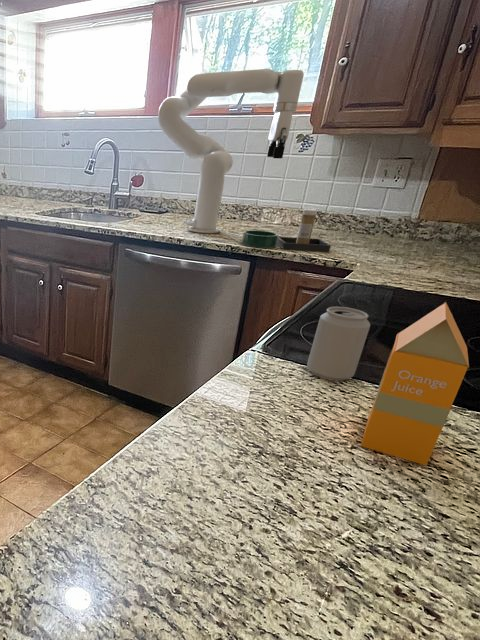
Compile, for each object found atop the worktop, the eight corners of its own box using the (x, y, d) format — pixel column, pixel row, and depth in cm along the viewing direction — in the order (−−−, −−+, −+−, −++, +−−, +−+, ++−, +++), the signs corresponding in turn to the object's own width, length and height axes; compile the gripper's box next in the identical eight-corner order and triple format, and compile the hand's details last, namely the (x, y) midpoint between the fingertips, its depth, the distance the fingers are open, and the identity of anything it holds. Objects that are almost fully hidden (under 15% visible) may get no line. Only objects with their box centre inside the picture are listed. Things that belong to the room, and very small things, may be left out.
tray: (283, 249, 192) (284, 242, 191) (275, 243, 203) (276, 236, 202) (328, 252, 189) (330, 245, 188) (318, 245, 199) (320, 238, 198)
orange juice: (359, 445, 74) (406, 311, 65) (366, 420, 80) (410, 295, 72) (428, 466, 69) (488, 325, 61) (429, 438, 76) (484, 306, 67)
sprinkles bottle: (310, 246, 195) (319, 209, 190) (305, 248, 192) (315, 210, 187) (297, 244, 198) (306, 207, 193) (292, 246, 195) (301, 209, 190)
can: (336, 365, 99) (354, 304, 94) (362, 382, 92) (384, 318, 87) (297, 365, 99) (313, 304, 94) (320, 383, 92) (340, 318, 87)
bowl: (244, 247, 195) (247, 235, 193) (239, 241, 205) (241, 229, 203) (278, 249, 192) (281, 236, 190) (271, 243, 203) (273, 231, 201)
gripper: (268, 108, 202) (259, 156, 209) (279, 107, 187) (268, 158, 194) (289, 108, 201) (279, 156, 208) (302, 107, 185) (290, 159, 192)
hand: (274, 157), depth 201 cm, fingers open, 9 cm apart
